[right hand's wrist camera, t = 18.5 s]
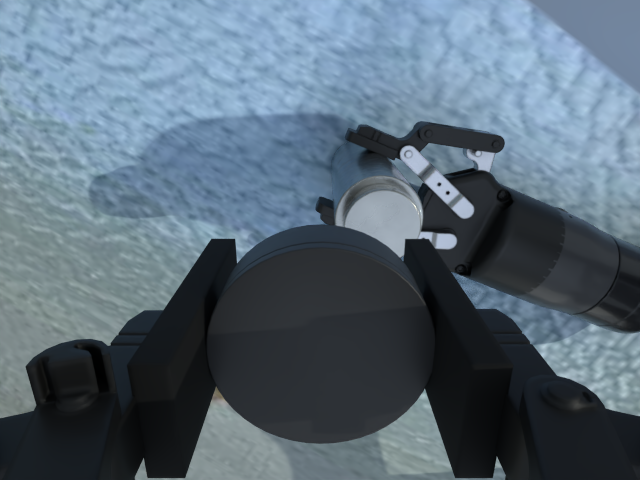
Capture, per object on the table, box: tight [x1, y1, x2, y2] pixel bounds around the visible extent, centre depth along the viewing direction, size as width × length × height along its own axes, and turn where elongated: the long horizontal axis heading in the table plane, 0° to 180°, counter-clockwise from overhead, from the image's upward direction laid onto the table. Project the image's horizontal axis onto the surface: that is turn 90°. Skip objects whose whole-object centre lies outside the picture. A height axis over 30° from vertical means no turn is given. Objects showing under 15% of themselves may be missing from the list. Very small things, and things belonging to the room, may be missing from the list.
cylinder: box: [331, 142, 424, 258], centre depth 30 cm, size 5×5×16 cm
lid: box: [206, 225, 436, 444], centre depth 11 cm, size 6×6×2 cm
